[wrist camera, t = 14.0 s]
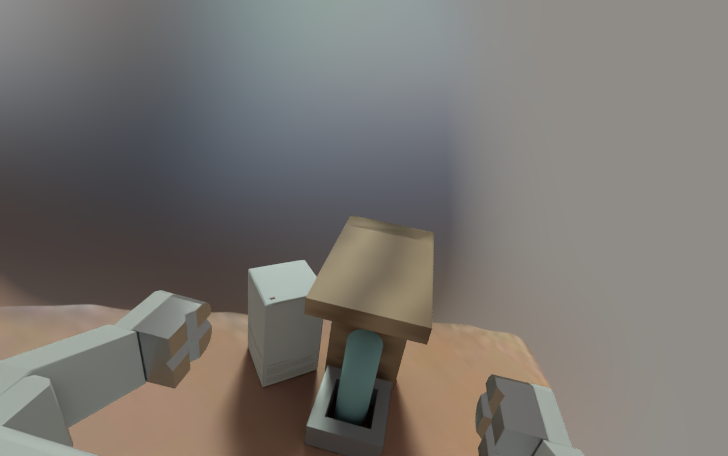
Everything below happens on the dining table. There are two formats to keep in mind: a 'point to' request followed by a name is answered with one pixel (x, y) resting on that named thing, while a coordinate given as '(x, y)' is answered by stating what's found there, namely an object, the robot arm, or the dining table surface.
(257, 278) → the supplement box
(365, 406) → the peg
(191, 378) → the dining table surface
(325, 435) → the socket
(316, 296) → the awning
